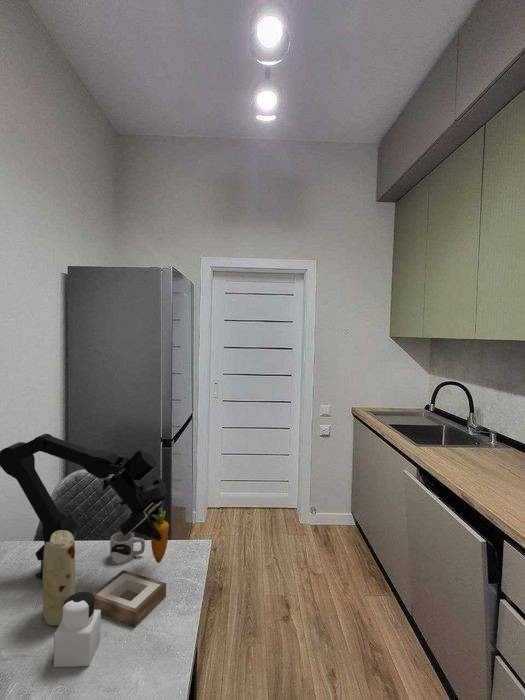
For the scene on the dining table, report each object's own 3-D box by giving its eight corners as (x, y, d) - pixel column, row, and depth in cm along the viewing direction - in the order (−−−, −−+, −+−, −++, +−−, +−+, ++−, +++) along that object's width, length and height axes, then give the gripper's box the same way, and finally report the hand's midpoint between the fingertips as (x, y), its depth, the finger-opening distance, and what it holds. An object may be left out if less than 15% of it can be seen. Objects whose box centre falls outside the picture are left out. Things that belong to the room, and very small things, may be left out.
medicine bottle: (67, 641, 87) (68, 587, 86) (100, 640, 87) (101, 587, 87) (52, 668, 79) (53, 610, 79) (89, 667, 80) (90, 609, 80)
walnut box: (89, 609, 96) (89, 596, 96) (123, 582, 108) (123, 569, 108) (135, 627, 91) (135, 612, 91) (165, 596, 103) (166, 583, 102)
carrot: (163, 569, 106) (165, 514, 105) (146, 566, 107) (148, 512, 106) (170, 559, 111) (173, 507, 110) (154, 556, 112) (156, 504, 111)
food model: (79, 622, 92) (81, 538, 92) (48, 636, 88) (50, 548, 87) (68, 600, 99) (69, 522, 99) (38, 612, 95) (40, 530, 94)
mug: (108, 565, 115) (108, 543, 115) (111, 553, 122) (112, 532, 121) (143, 562, 117) (144, 540, 117) (145, 550, 124) (145, 529, 124)
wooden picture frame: (95, 606, 97) (95, 595, 97) (123, 583, 106) (123, 573, 106) (134, 621, 93) (135, 608, 93) (160, 596, 102) (160, 584, 102)
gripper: (132, 485, 99) (172, 533, 98) (162, 462, 118) (196, 503, 116) (102, 512, 101) (141, 560, 99) (136, 485, 119) (169, 526, 118)
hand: (164, 534), depth 108 cm, fingers closed on carrot, 5 cm apart
